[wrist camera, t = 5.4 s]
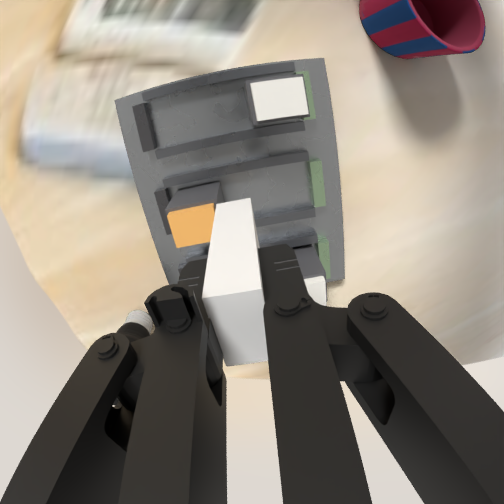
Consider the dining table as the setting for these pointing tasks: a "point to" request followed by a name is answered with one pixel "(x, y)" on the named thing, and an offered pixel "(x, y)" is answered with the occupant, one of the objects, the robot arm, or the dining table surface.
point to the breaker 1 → (276, 98)
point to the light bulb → (136, 328)
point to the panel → (238, 160)
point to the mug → (424, 26)
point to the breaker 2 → (312, 273)
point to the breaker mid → (193, 213)
